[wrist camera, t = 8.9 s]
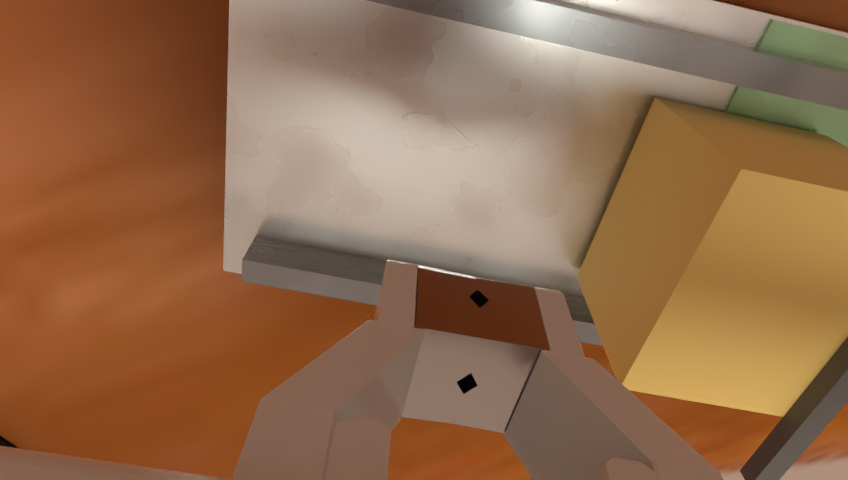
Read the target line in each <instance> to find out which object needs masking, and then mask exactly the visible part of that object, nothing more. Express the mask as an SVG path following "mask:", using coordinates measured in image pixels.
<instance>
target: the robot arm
mask: <svg viewBox="0 0 848 480" xmlns="http://www.w3.org/2000/svg"><path fill="white" fill-rule="evenodd" d="M401 417H406V418H414V419H422V420H429V421H437V422H445V423H453V424H458V425H463V426H469V427H474V428H479V429H485V430H490V431H495V432H501V433H505V434H504V436H505V438H506V439H507V441H508V442H509V444H510V445H511V447H512V449H513V450H514V452H515V453H516V455H517V456H518V458H519V459H520V461H521V462H522V464H523V465H524V467H525V468H526V470H527V471H528V473H529V474H530V476H531V477H532V479H533V480H723V478H722V476H721V474H720V472H719V471H718V470H717V469H715V468H714V467H713V466H712V465H711V464H710V463H709V462H708V461H707V460H705V459H704V458H703V457H702V456H701V455H700V454H699V453H698V452H697V451H695V450H694V449H693V448H692V447H691V446H690V445H689V444H688V443H687V442H685V441H684V440H683V439H682V438H681V437H680V436H679V435H678V434H677V433H675V432H674V431H673V430H672V429H671V428H670V427H669V426H668V425H667V424H666V423H664V422H663V421H662V420H661V419H660V418H659V417H658V416H657V415H656V414H654V413H653V412H652V411H651V410H650V409H649V408H648V407H647V406H646V405H644V404H643V403H642V402H641V401H640V400H639V399H638V398H637V397H636V396H634V395H633V394H632V393H631V392H630V391H629V390H628V389H627V388H626V387H624V386H623V385H622V384H621V383H620V382H619V381H618V380H617V379H616V378H615V377H613V376H612V375H611V374H610V373H609V372H608V371H607V370H606V369H605V368H603V367H602V366H601V365H600V364H599V363H598V362H597V361H596V360H595V359H592V358H586V357H585V356H584V353H583V350H582V347H581V344H580V341H579V338H578V335H577V332H576V329H575V326H574V323H573V320H572V317H571V314H570V311H569V308H568V306H567V303H566V300H565V297H564V294H563V293H562V292H561V291H560V290H553V289H547V288H540V287H533V286H531V287H530V286H524V285H518V284H512V283H506V282H500V281H494V280H488V279H482V278H476V277H475V276H470V275H465V274H460V273H455V272H450V271H445V270H440V269H436V268H431V267H426V266H421V265H416V264H412V263H406V262H400V261H395V260H389V259H387V262H386V265H385V269H384V274H383V279H382V283H381V288H380V293H379V298H378V302H377V307H376V312H375V317H374V321H373V320H368V321H366V322H365V323H364V324H362V325H361V326H360V327H358V328H357V329H356V330H354V331H353V332H351V333H350V334H349V335H347V336H346V337H345V338H343V339H342V340H341V341H339V342H338V343H336V344H335V345H334V346H332V347H331V348H330V349H328V350H327V351H326V352H324V353H323V354H321V355H320V356H319V357H317V358H316V359H315V360H313V361H312V362H311V363H309V364H308V365H306V366H305V367H304V368H302V369H301V370H300V371H298V372H297V373H295V374H294V375H293V376H291V377H290V378H289V379H287V380H286V381H285V382H283V383H282V384H280V385H279V386H278V387H276V388H275V389H274V390H272V391H271V392H270V393H268V394H267V395H265V396H264V397H263V398H261V400H260V402H259V405H258V408H257V411H256V413H255V416H254V419H253V422H252V424H251V427H250V430H249V433H248V435H247V438H246V441H245V444H244V446H243V449H242V452H241V454H240V457H239V460H238V463H237V465H236V468H235V471H234V474H233V476H232V479H229V478H222V477H215V476H208V475H201V474H194V473H187V472H180V471H173V470H166V469H159V468H152V467H145V466H138V465H131V464H124V463H117V462H110V461H104V460H97V459H90V458H83V457H76V456H69V455H62V454H55V453H48V452H41V451H34V450H27V449H20V448H13V447H6V446H0V480H387V475H388V462H389V449H390V436H391V431H392V430H393V428H394V427H395V426H396V425H397V424H398V422H399V421H400V420H401Z"/></svg>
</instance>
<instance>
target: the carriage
mask: <svg viewBox="0 0 848 480" xmlns="http://www.w3.org/2000/svg"><path fill="white" fill-rule="evenodd" d="M577 279H578V282H579V285H580V287H581V290H582V292H583V295H584V297H585V300H586V303H587V305H588V308H589V310H590V313H591V316H592V318H593V321H594V323H595V326H596V329H597V331H598V334H599V336H600V339H601V342H602V344H603V347H604V349H605V352H606V355H607V357H608V360H609V362H610V365H611V368H612V370H613V373H614V375H615V378H616V379H617V380H618V381H619V382H620V383H621V384H622V385H623V386H624V387H626V388H627V389H628V390H631V391H637V392H643V393H649V394H654V395H660V396H666V397H672V398H678V399H683V400H689V401H695V402H701V403H706V404H712V405H718V406H724V407H730V408H735V409H741V410H747V411H753V412H759V413H764V414H770V415H776V416H782V417H783V418H782V419H781V420H780V422H779V423H778V424H777V425H776V427H775V428H774V429H773V430H772V432H771V433H770V434H769V435H768V437H767V438H766V439H765V440H764V442H763V443H762V444H761V445H760V447H759V448H758V449H757V450H756V451H755V453H754V454H753V455H752V456H751V458H750V459H749V460H748V461H747V463H746V464H745V465H744V466H743V468H742V469H741V470H740V471H741V473H742V475H743V477H744V479H745V480H779V479H780V478H781V477H782V476H783V475H784V474H785V472H786V471H787V470H788V469H789V468H790V467H791V466H792V464H793V463H794V462H795V461H796V460H797V459H798V458H799V457H800V455H801V454H802V453H803V452H804V451H805V450H806V449H807V447H808V446H809V445H810V444H811V443H812V442H813V441H814V439H815V438H816V437H817V436H818V435H819V434H820V433H821V431H822V430H823V429H824V428H825V427H826V426H827V425H828V423H829V422H830V421H831V420H832V419H833V418H834V417H835V415H836V414H837V413H838V412H839V411H840V410H841V409H842V407H843V406H844V405H845V404H846V403H847V402H848V147H846V146H844V145H842V144H841V143H839V142H837V141H835V140H834V139H832V138H830V137H828V136H827V135H823V134H818V133H814V132H809V131H805V130H800V129H796V128H792V127H787V126H783V125H778V124H774V123H769V122H765V121H760V120H756V119H751V118H747V117H742V116H738V115H733V114H729V113H725V112H720V111H716V110H711V109H707V108H702V107H698V106H693V105H689V104H684V103H680V102H675V101H671V100H666V99H662V98H658V97H655V98H654V100H653V103H652V105H651V107H650V110H649V112H648V114H647V117H646V119H645V121H644V123H643V126H642V128H641V130H640V133H639V135H638V137H637V140H636V142H635V144H634V147H633V149H632V151H631V153H630V156H629V158H628V160H627V163H626V165H625V167H624V170H623V172H622V174H621V176H620V179H619V181H618V183H617V186H616V188H615V190H614V193H613V195H612V197H611V200H610V202H609V204H608V206H607V209H606V211H605V213H604V216H603V218H602V220H601V223H600V225H599V227H598V229H597V232H596V234H595V236H594V239H593V241H592V243H591V246H590V248H589V250H588V253H587V255H586V257H585V259H584V262H583V264H582V266H581V269H580V271H579V273H578V276H577Z"/></svg>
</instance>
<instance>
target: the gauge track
mask: <svg viewBox="0 0 848 480" xmlns="http://www.w3.org/2000/svg"><path fill="white" fill-rule="evenodd" d="M655 97H658V98H662V99H666V100H671V101H675V102H680V103H684V104H689V105H693V106H698V107H702V108H707V109H711V110H716V111H720V112H725V113H729V114H733V115H738V116H742V117H747V118H751V119H756V120H760V121H765V122H769V123H774V124H778V125H783V126H787V127H792V128H796V129H800V130H805V131H809V132H814V133H818V134H823V135H827V136H828V137H830V138H832V139H834V140H835V141H837V142H839V143H841V144H842V145H844V146H846V147H848V32H845V31H841V30H837V29H832V28H828V27H824V26H820V25H816V24H812V23H808V22H804V21H799V20H795V19H791V18H787V17H783V16H779V15H775V14H771V13H767V12H762V11H758V10H754V9H750V8H746V7H742V6H738V5H734V4H730V3H725V2H721V1H717V0H229V35H228V79H227V123H226V167H225V211H224V255H223V271H228V272H234V273H239V274H241V281H243V282H249V283H255V284H260V285H266V286H271V287H277V288H283V289H288V290H294V291H299V292H305V293H310V294H316V295H322V296H327V297H333V298H338V299H344V300H349V301H355V302H361V303H366V304H372V305H377V302H378V298H379V293H380V288H381V283H382V279H383V274H384V269H385V265H386V262H387V259H389V260H395V261H400V262H406V263H412V264H416V265H421V266H426V267H431V268H436V269H440V270H445V271H450V272H455V273H460V274H465V275H470V276H475V277H476V278H482V279H488V280H494V281H500V282H506V283H512V284H518V285H524V286H530V287H531V286H533V287H540V288H547V289H553V290H560V291H561V292H562V293H563V294H564V297H565V300H566V303H567V306H568V308H569V311H570V314H571V317H572V320H573V323H574V326H575V329H576V332H577V335H578V338H579V341H580V342H583V343H589V344H595V345H600V346H603V344H602V342H601V339H600V336H599V334H598V331H597V329H596V326H595V323H594V321H593V318H592V316H591V313H590V310H589V308H588V305H587V303H586V300H585V297H584V295H583V292H582V290H581V287H580V285H579V282H578V279H577V276H578V273H579V271H580V269H581V266H582V264H583V262H584V259H585V257H586V255H587V253H588V250H589V248H590V246H591V243H592V241H593V239H594V236H595V234H596V232H597V229H598V227H599V225H600V223H601V220H602V218H603V216H604V213H605V211H606V209H607V206H608V204H609V202H610V200H611V197H612V195H613V193H614V190H615V188H616V186H617V183H618V181H619V179H620V176H621V174H622V172H623V170H624V167H625V165H626V163H627V160H628V158H629V156H630V153H631V151H632V149H633V147H634V144H635V142H636V140H637V137H638V135H639V133H640V130H641V128H642V126H643V123H644V121H645V119H646V117H647V114H648V112H649V110H650V107H651V105H652V103H653V100H654V98H655Z"/></svg>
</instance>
